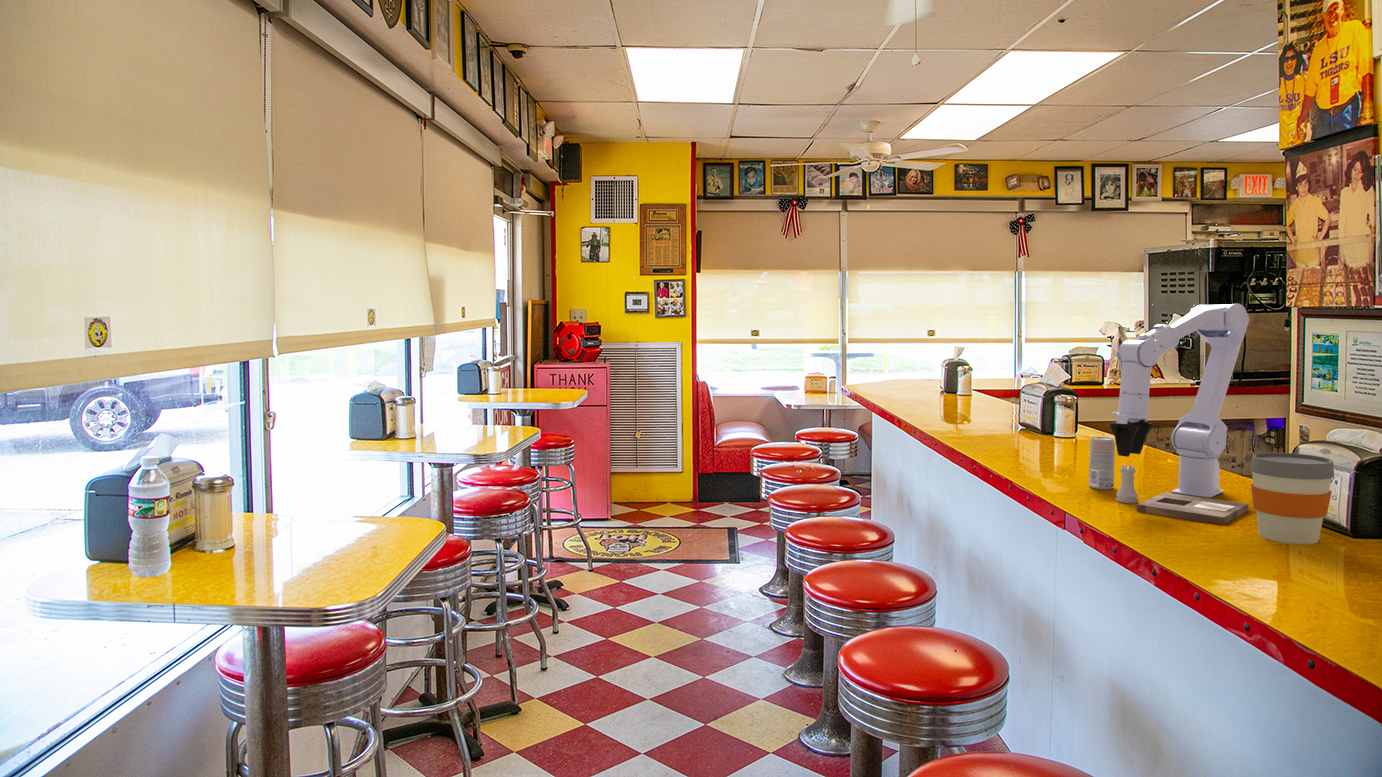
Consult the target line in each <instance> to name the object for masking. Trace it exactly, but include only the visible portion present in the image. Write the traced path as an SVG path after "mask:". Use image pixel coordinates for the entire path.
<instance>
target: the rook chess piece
mask: <svg viewBox="0 0 1382 777" xmlns="http://www.w3.org/2000/svg"><path fill="white" fill-rule="evenodd" d="M1119 472H1120V473H1121V476H1120V478H1121V482H1120V487H1119V489H1118V491H1117V492H1116V494H1115V496H1117V497H1116V498H1115V500H1116V501H1117V502H1118V503H1122V504H1130V505H1131V504H1132V505H1133V504H1138V502H1139V499H1138V497H1139V496H1138V493H1137V492H1136V489H1135V483H1134V479H1135V475H1134V474H1135V473H1136V472H1137V470H1136V469H1135V466H1134V465H1126V464H1125V465H1121V468H1120V469H1119Z"/></svg>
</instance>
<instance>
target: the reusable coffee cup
mask: <svg viewBox="0 0 1382 777" xmlns="http://www.w3.org/2000/svg"><path fill="white" fill-rule="evenodd" d="M1249 467H1250V468H1249V471H1250V472H1251V475H1252V483H1251V484H1250V491H1251V498H1252V499H1251V500H1252V507H1253V509H1254V510H1255V511H1256V521H1257V530H1258V536H1260V537H1261V538H1263V539H1266V540H1270V541H1273V542H1277V543H1283V544H1292V545H1314V544H1317V543H1319V540H1320V536H1321V530H1322V527H1323V526H1322V525H1323V521H1324V518H1325V517H1327V515H1328V511H1329V507H1330V501H1331V497H1332V492H1333V491H1332V490H1330V487H1331V484H1332V479H1334V478H1335V468H1334V460H1333V459H1331V458H1327V457H1324V456H1319V455H1310V454H1305V453H1303V454H1302V453H1293V452H1258V453H1253V454H1252V456H1251V461H1250V466H1249Z"/></svg>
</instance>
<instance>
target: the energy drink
mask: <svg viewBox="0 0 1382 777" xmlns="http://www.w3.org/2000/svg"><path fill="white" fill-rule="evenodd" d="M1115 450H1116V441H1115V438H1114V437H1113V438H1112V437H1109V436H1108V437H1106V436H1094V437H1091V438H1090V440H1089V464H1088V465H1089V466H1088V467H1089V469H1088V470H1089V471H1088V472H1089V474H1088V476H1089V477H1088V486H1089V487H1090V488H1091V489H1095V490H1104V491H1105V490H1107V491H1108V490H1113V489H1114V486H1115V485H1114V484H1115V457H1116V456H1115V455H1116V454H1115Z"/></svg>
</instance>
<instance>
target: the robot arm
mask: <svg viewBox="0 0 1382 777" xmlns="http://www.w3.org/2000/svg"><path fill="white" fill-rule="evenodd" d="M1249 322H1250V317H1249V315H1248V312H1247V310H1246V308H1245V306H1244V305H1242V304H1241V303H1232V304H1231V303H1230V304H1228V303H1227V304H1226V303H1225V304H1224V303H1223V304H1205V303H1202V304H1201V303H1200V304H1198V305H1196V306H1195V307H1192V308H1190V310H1189V312H1188V313H1187V314H1186V315H1184V316H1182V317H1181V318H1180V319H1178V320H1176V321H1175V322H1173V323H1171V324H1170V325H1168V324H1163V323H1162V324H1160V323H1158V324H1155V325H1153V329H1151V330H1149V331H1148V332H1147V331H1146V332H1145V333H1140V334H1139V335H1138V337H1137V338H1135V339H1126V340H1124V341H1123V342H1122V343H1121V344H1120V345H1119V347H1118V350H1117V351H1116V359H1117V361H1118V363H1119V371H1120V373H1121V376H1120V385H1119V386H1120V387H1119V400H1118V401H1119V402H1118V410H1117V411H1112V412H1111V413H1112V414H1111V415H1112V416H1116V422H1115V421H1114V422H1110V423H1109V427H1110V429H1111V431H1112V433H1113V436H1114V441H1115V447H1116V452H1117V456H1119V457H1127V458H1128V457H1130V455H1131V454H1134V455H1141V453H1142V450H1143V448H1144V444H1145V441H1146V439H1147V437H1148V434H1149V433H1150V431H1151V429H1152V428H1153V427H1154V423H1152V422H1148V419H1149V412H1148V411H1149V400H1150V399H1149V398H1150V389H1151V388H1150V387H1151V386H1150V385H1151V374H1152V366H1155V365H1156V364H1157V363H1158V361H1159V359H1160V357H1161V356H1162V355H1163V354H1165V353H1167V352H1168V351H1170V350H1173V349H1174V348H1175V347H1177V346H1178V345H1179V343H1180V339H1182V338H1183V337H1186V336H1188V335H1190V334H1193V333H1194V332H1196V333H1197V334H1198V335H1199V336H1200V337H1201V338H1202V340H1203V341H1204V342H1206V343H1208V344H1209V345H1210V347H1211V349H1210V351H1209V355H1208V358H1207V362H1206V365H1205V369H1204V372H1203V375H1202V378H1201V380H1200V383H1199V387H1198V390H1197V394H1196V396H1195V400H1194V404H1193V407H1192V409H1191V411H1190V412H1188V413H1187V414H1186V413H1185V415H1183V416H1181V417H1180V418H1179V420H1178V423H1177V425H1176V426H1175V428H1173V431H1172V432H1171V436H1170V440H1171V446H1172V447H1173V449H1174V450H1176V454H1177V455H1178V454H1179V460H1178V461H1179V463H1178V464H1179V465H1178V488H1175V489H1172V490H1171V493H1172V494H1179V495H1186V496H1194V497H1201V498H1208V499H1212V498H1213V497H1215V496H1217V495H1220V494H1221V493H1223V492H1224V489H1221V488H1220V463H1219V461H1218V459H1217V458H1219V457H1220V456H1221V455H1222V453H1223V452H1224V451H1225V449H1226V446H1227V431H1228V427H1227V425H1226V424H1225V422H1223V421H1222V419H1221V418H1220V414H1221V410H1222V408H1223V405H1224V401H1225V397H1226V396H1227V395H1226V394H1227V392H1228V389H1229V385H1230V382H1231V379H1232V377H1233V376H1232V375H1233V372H1234V368H1235V365H1236V363H1237V359H1238V356H1239V353H1240V350H1241V346H1242V343H1243V342H1244V341H1243V340H1244V338H1245V335H1246V331H1247V328H1248V325H1249Z"/></svg>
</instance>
